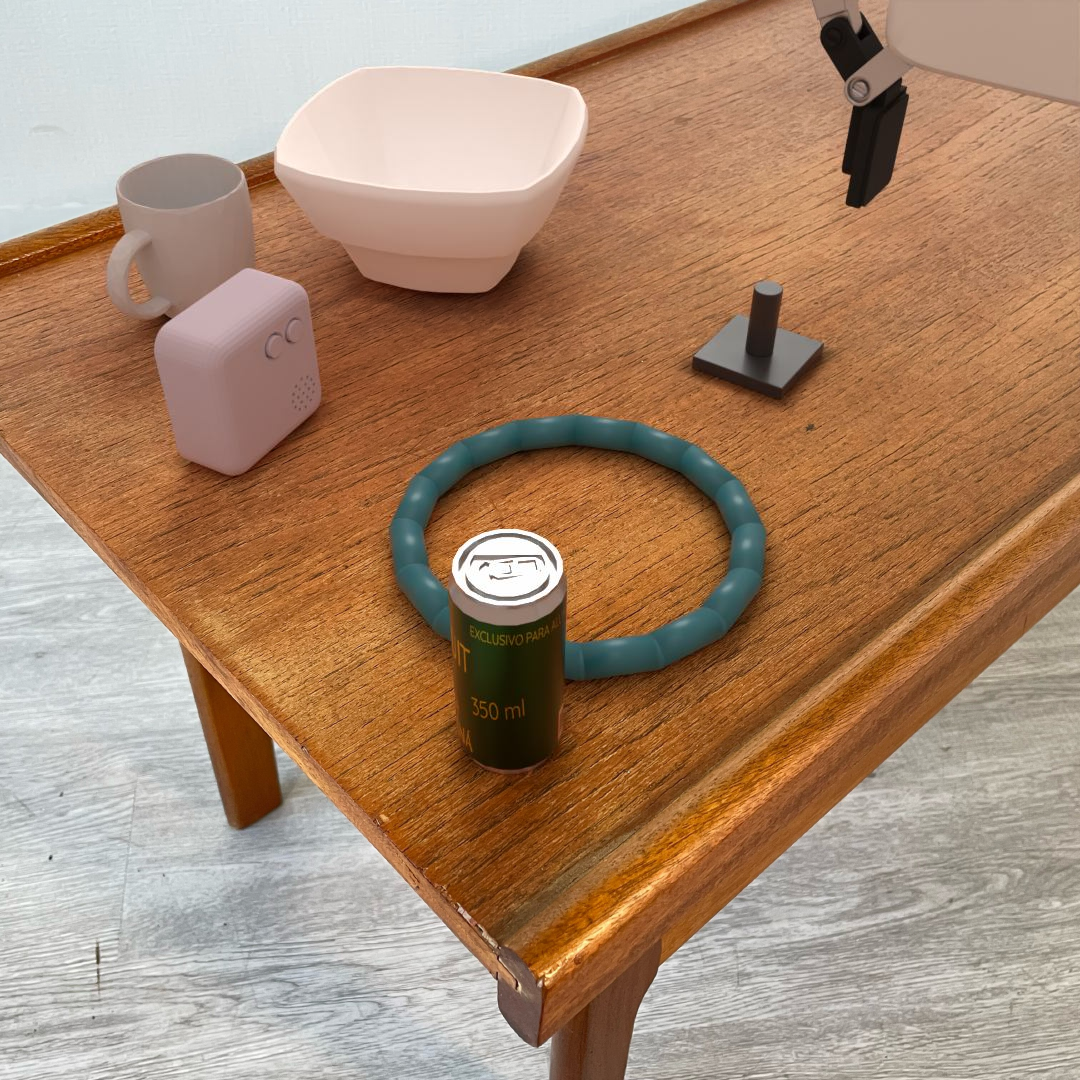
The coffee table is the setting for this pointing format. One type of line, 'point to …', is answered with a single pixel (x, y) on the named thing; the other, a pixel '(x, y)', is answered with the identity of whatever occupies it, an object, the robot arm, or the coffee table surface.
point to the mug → (180, 232)
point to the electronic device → (239, 370)
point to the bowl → (432, 169)
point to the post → (759, 348)
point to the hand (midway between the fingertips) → (983, 228)
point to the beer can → (508, 648)
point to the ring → (605, 434)
